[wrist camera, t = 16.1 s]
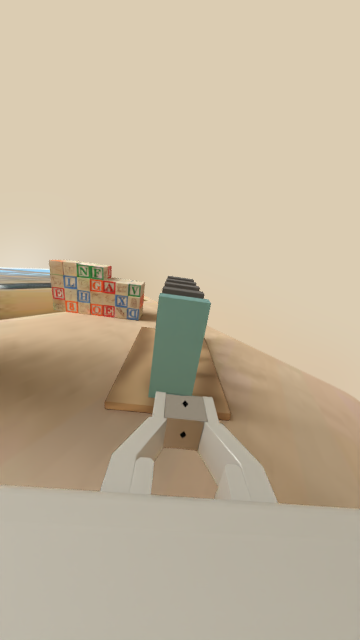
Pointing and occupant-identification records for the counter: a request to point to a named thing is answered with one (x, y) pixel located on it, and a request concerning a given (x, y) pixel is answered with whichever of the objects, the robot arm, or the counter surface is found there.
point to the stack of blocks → (94, 290)
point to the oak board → (137, 371)
